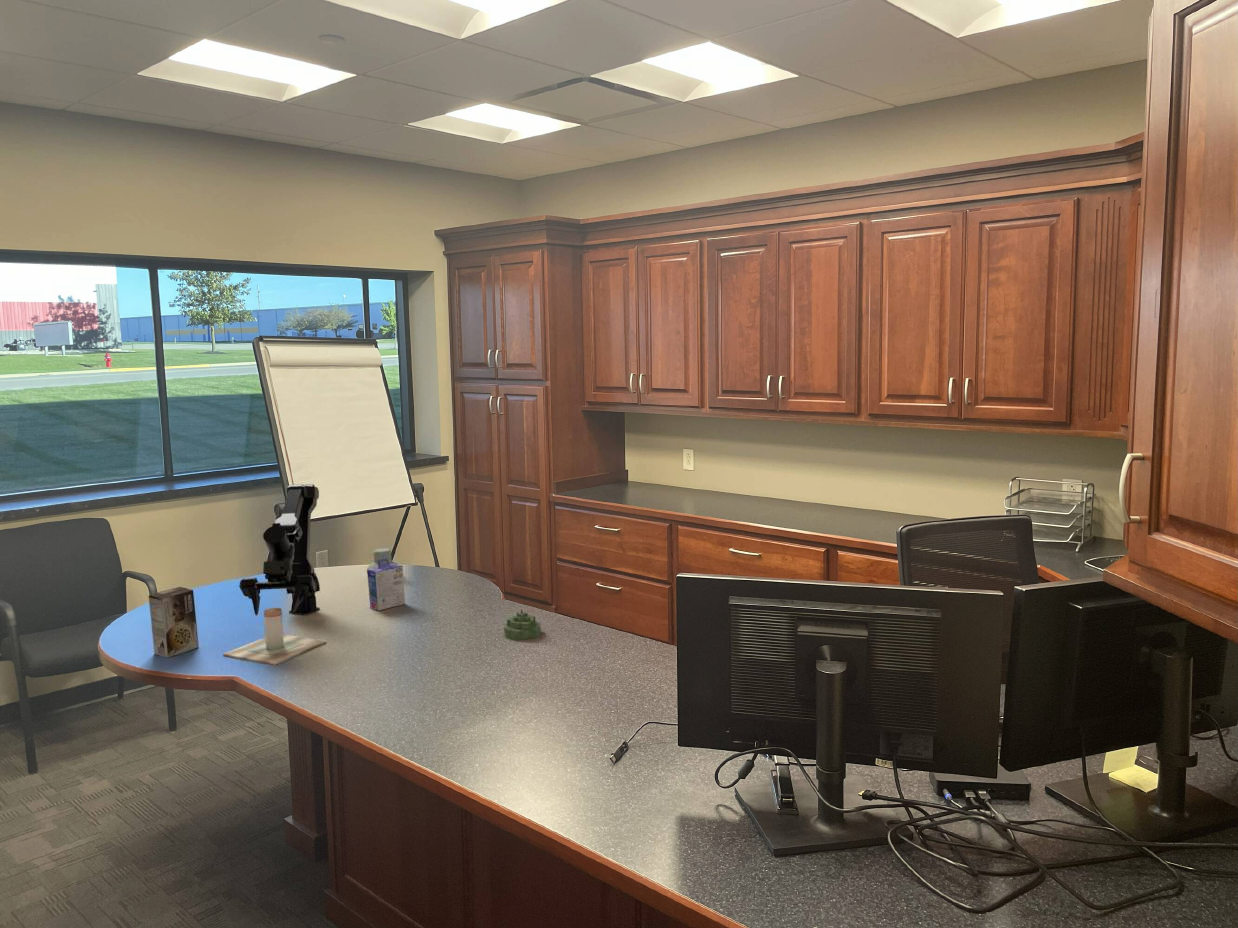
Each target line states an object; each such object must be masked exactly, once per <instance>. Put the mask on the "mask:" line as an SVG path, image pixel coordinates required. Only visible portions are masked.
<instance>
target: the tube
mask: <svg viewBox="0 0 1238 928" xmlns="http://www.w3.org/2000/svg"><path fill="white" fill-rule="evenodd" d="M263 621H264V635H265V637H264V638H265V639H266V649H269V650H275V649H280V648H282V647H284V641H283V634H284V627H283V625H284V624H283V611H282V608H281V607H271V608H267V609H265V610H263Z"/></svg>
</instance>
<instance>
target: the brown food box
mask: <svg viewBox="0 0 1238 928" xmlns="http://www.w3.org/2000/svg"><path fill="white" fill-rule="evenodd" d="M148 602H149V612H150V622H151V623H150V625H151V634H152V644H153V653H154V655H158V656H161V657H164V658H166V659H167V658H171V657H174V656H177V655H179V654H182V653H185V652H188V651H192V650H194V649H197V648H199V647H200V645H199V635H198V626H197V616H196V606H195V595H194V589H191V588H187V587H182V586H178V587H174V588H173V587H172V588H171V589H167V590H163V591H159V592H156V593H151V594H148Z"/></svg>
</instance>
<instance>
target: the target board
mask: <svg viewBox="0 0 1238 928" xmlns="http://www.w3.org/2000/svg"><path fill="white" fill-rule="evenodd" d="M283 641H284V647H282V648H280V649H275V650H269V649H266V639H265V637H262V638H260V639H258V640H256V641H252V642H250V643H247V644H244V645H243V646H240V647H237V648H234V649H233V650H229V651H226V652H224V653H223V654H222V655H223V657H229V658H234V659H238V660H239V659H240V660H246V661H250V662H256V663H262V664H267V665H272V666H276V665H278V664H281V663H282V662H285V661H287V660H290V659H293V658H294V657H297V656H298V655H302V654H304V653H306V652H308V651H310V650H313V649H316V648H317V647H320V646H322V645H325V644H326V642H327V641H326V640H321V639H317V638H309V637H302V636H296V635H290V634H284V633H283Z"/></svg>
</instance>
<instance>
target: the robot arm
mask: <svg viewBox="0 0 1238 928" xmlns="http://www.w3.org/2000/svg"><path fill="white" fill-rule="evenodd" d="M319 498H320V490H319V487H317V486H315V484H313V483H312V484H303V483H302V484H290V485H288V486H287V487H286V498H285V502H284V506H283V509H282V513H281V516H280V517H278V518H277V519H275V521H274V522H273V523H271V524H272V525H271V526H269V527H268V528H266V529H265V531H264V532H263V534H262V538H263V541H264V543H265V545H266V547H267V549H268V551H269V553H271V556H270V557H271V558H270V560H269V561H267V560H266V561H265V560H264V561H263V565H262V574H263V575H264V578H265V580H267V581H262V582H261V581H260V582H259V580H258V578H257V577H244V578H242V579H241V580H240V581H239V585H238V587H239V589H240V591H241V593H242V594H243V596H244V597H247V598H248V599H249V600H250V599H251V603H252V606H253V611H254V615H255V617H256V616H258V614H259V610H260V602H261V595H260V593H261V591H263V590H284V589H286V590H285V591H286V594H287V595H290V594H291V599H292V600H291V601H292V602H291V607H290V610H289V612H288V613H289V614H293V615H294V614H295V615H303V616H306V615H308V614H311V613H313V612H317V611H319V610H320V609H321V608H320V607H319V606H317V597H316V593H317V592H320V591H321V589H320V588H321V585H320V580H319V578H318V576H317V573H316V570H315V568H314V566H313V564H312V562H311V560H310V549H311V525H312V524H311V518H312V517H311V516H312V513H313V511H314V510H315V509H316V508H317V505H318V504H317V503H318V499H319ZM292 544H293V545H292Z"/></svg>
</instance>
